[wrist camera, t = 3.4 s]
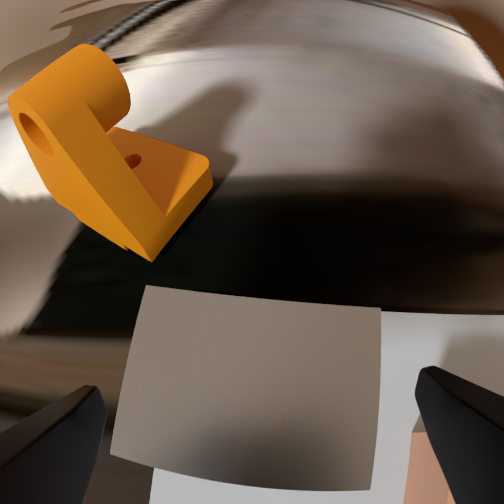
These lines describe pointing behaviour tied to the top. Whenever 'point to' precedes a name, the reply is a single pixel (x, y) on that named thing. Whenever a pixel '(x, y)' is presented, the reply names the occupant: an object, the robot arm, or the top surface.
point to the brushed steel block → (252, 391)
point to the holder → (425, 475)
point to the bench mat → (390, 409)
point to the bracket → (105, 154)
